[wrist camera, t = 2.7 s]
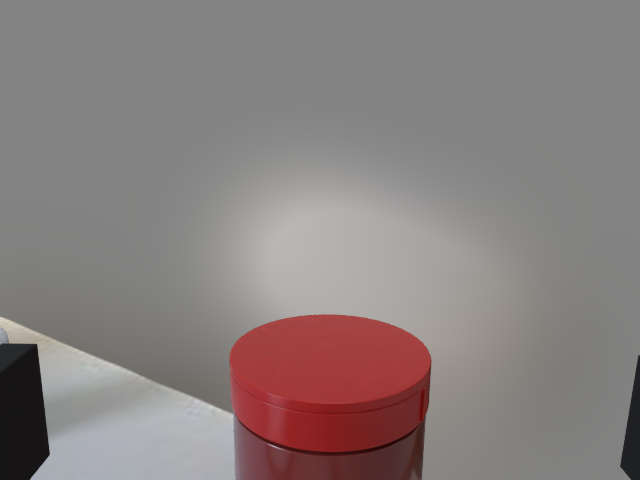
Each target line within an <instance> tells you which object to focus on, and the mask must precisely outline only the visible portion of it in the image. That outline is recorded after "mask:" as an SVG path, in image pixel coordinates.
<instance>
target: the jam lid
mask: <svg viewBox="0 0 640 480" xmlns="http://www.w3.org/2000/svg"><path fill="white" fill-rule="evenodd" d="M430 374H431V356H430V353H429V351H428V349H427V348H426V346H424V344H423V343H422V342H421V341H420V340H419V339H418V338H416V337H415V336H413V335H412V334H410V333H408V332H407V331H405V330H403V329H401V328H398V327H396V326H393V325H390V324H387V323H384V322H381V321H377V320H372V319H368V318H362V317H356V316H345V315H307V316H298V317H292V318H286V319H282V320H277V321H274V322H270V323H267V324H264V325H262V326H259V327H257V328H255V329H253V330H251V331H249V332H248V333H246V334H245V335H243V336H242V337H241V338H239V340H238V341H237V342H236V343H235V344H234V346H233V347H232V350H231V352H230V391H231V404H232V408H233V410H234V412H235V414H236V416H237V417H238V418H239V420H240V421H241V422H242V423H243V424H244V425H245V426H246V427H247V428H249V429H250V430H251V431H253V432H254V433H256V434H258V435H259V436H261V437H264V438H266V439H268V440H270V441H273V442H275V443H278V444H281V445H284V446H288V447H292V448H296V449H303V450H309V451H319V452H347V451H358V450H363V449H369V448H373V447H377V446H381V445H384V444H387V443H390V442H392V441H395V440H397V439H399V438H401V437H403V436H405V435H406V434H408V433H409V432H411V431H412V430H413V429H415V428H416V427H417V426H418V425H419V424H420V423H421V421H422V422H423V421H424V417H425V415H426V412H427V409H428V404H429V389H430Z"/></svg>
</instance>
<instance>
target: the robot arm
mask: <svg viewBox="0 0 640 480" xmlns="http://www.w3.org/2000/svg"><path fill="white" fill-rule="evenodd" d="M49 455H50V452H49V443H48V435H47V426H46V417H45V409H44V400H43V391H42V382H41V374H40V365H39V356H38V348H37V344H8V343H2V344H1V345H0V480H30V479H31V477H32V476H33V475H34V474H35V472H36V471H37V470H38V469H39V468H40V466H41V465H42V464H43V463H44V461H45V460H46V459H47V458H48V456H49ZM620 467H621V468H622V469H623V470H624V471H625V473H626V474H627V475H628V476H629V477H630V479H631V480H640V355H639V356H638V362H637V367H636V374H635V380H634V386H633V392H632V398H631V404H630V410H629V417H628V422H627V428H626V435H625V441H624V446H623V452H622V458H621V465H620Z"/></svg>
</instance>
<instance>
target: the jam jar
mask: <svg viewBox="0 0 640 480" xmlns="http://www.w3.org/2000/svg"><path fill="white" fill-rule="evenodd" d="M233 416H234V448H235V480H422V465H423V450H424V433H425V418H426V415H425V417H424V421H423V422H422V421H421V423H420V424H419V425H418V426H417V427H416V428H415V429H413V430H412V431H411V432H409V433H408V434H406V435H405V436H403V437H401V438H399V439H397V440H395V441H392V442H390V443H387V444H384V445H381V446H377V447H373V448H369V449H363V450H358V451H347V452H319V451H309V450H303V449H296V448H292V447H288V446H284V445H281V444H278V443H275V442H273V441H270V440H268V439H266V438H264V437H261V436H259V435H258V434H256V433H254V432H253V431H251V430H250V429H249V428H247V427H246V426H245V425H244V424H243V423H242V422H241V421H240V420H239V418H238V417H237V416H236V414H235V412H234V410H233Z"/></svg>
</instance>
